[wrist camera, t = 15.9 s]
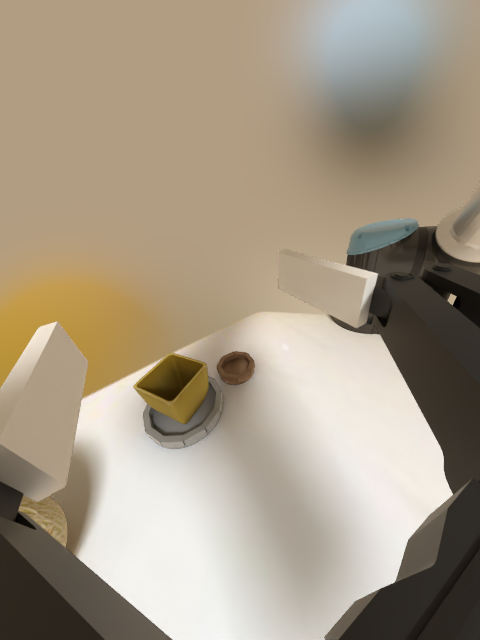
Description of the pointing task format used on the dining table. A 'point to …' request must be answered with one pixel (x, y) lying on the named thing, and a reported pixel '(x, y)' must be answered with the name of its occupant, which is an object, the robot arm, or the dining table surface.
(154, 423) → the grey saucer
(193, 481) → the dining table surface
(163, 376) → the flower pot
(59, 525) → the cantaloupe
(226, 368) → the brown octagonal saucer
